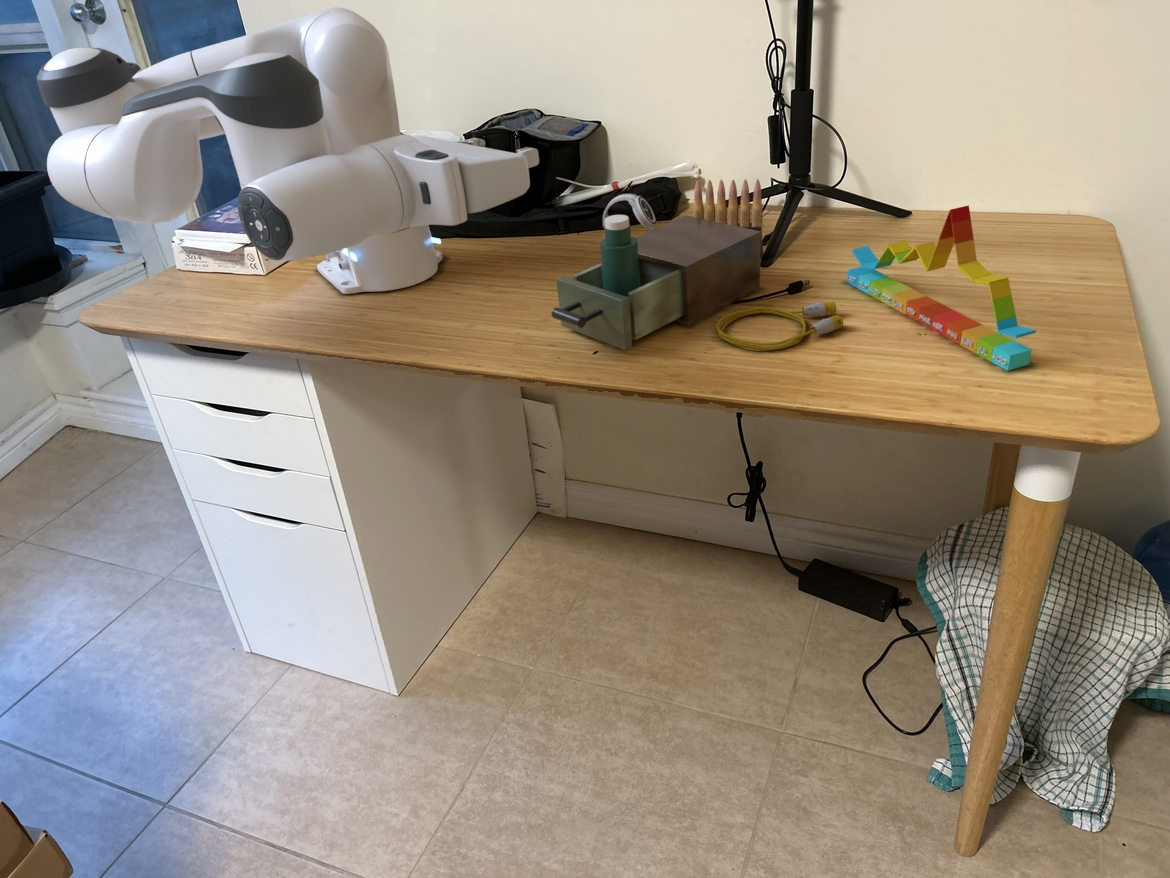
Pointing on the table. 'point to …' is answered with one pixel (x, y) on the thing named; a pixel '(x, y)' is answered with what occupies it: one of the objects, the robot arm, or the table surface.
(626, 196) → the watch
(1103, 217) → the table surface
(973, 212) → the table surface
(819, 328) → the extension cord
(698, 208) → the ammunition clip
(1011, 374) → the table surface
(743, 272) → the cabinet
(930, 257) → the chart
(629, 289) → the glue bottle
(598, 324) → the drawer
